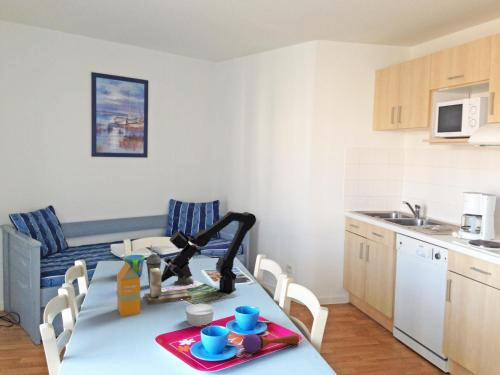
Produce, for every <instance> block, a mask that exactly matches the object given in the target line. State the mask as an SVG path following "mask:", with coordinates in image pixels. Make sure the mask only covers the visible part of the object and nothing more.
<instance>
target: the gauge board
mask: <svg viewBox="0 0 500 375" xmlns="http://www.w3.org/2000/svg"><path fill="white" fill-rule="evenodd" d="M161 294H162V296H158V297H159V298H156V297H152V296H151V294H150V292H149V293H148V292H147V293H144V296H143V298H144V299H145V301H146V303H147V305H153V304H154V305H155V304H162V303H163V304H164V303H170V302H176V301H182V300H181V299H187V298H191V299H192V295H191V293H190V292H189V291H188V290H187V289H186V288H183V289H172V290H164V291H161ZM187 300H188V299H187Z"/></svg>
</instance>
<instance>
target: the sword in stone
mask: <svg viewBox="0 0 500 375" xmlns="http://www.w3.org/2000/svg"><path fill="white" fill-rule="evenodd" d="M194 283H195V281H194V280H193V278H191V277H189V278H187V279H186V278H185V277H183V279H181V278H180V277H179V276H177V280H175V281H174V285H176V286H190V284H192V285H194Z"/></svg>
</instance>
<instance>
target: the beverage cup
mask: <svg viewBox="0 0 500 375" xmlns="http://www.w3.org/2000/svg"><path fill="white" fill-rule="evenodd" d="M150 250H151V254H150V255H149V256H147V258H146V261H145V264H146V268H147V270H146V271H147V278H148V286H149V287H150V269H152V268H159V269H160V270H161V267H162V266H161V265H162V260H161V257H160V256H159V255H158V254H156V253H155V254H154V252H153V245H152V244H151V245H150Z"/></svg>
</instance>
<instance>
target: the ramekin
mask: <svg viewBox="0 0 500 375" xmlns="http://www.w3.org/2000/svg"><path fill="white" fill-rule="evenodd" d="M214 312H215V308H214V306H213V305H210V304H206V303H196V304H195V303H194V304H191V305H187V307H186V308H185V315H186V319H187V323H188V324H189V325H190V326H193V327H202V326H201V325H206V326H208V325H207V324H209V323H210V324H212V322H213V318H214ZM210 324H209V325H210Z"/></svg>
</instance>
